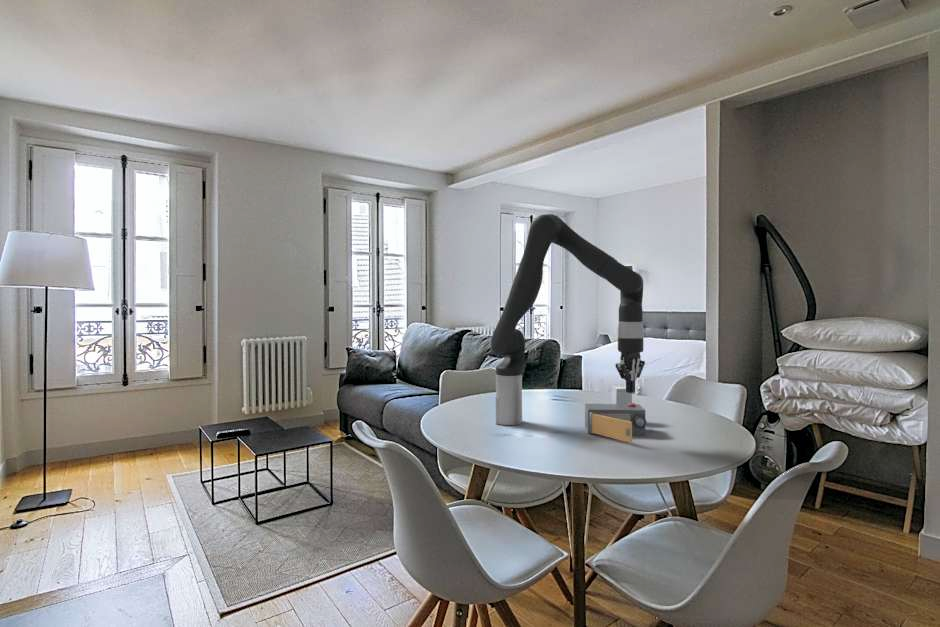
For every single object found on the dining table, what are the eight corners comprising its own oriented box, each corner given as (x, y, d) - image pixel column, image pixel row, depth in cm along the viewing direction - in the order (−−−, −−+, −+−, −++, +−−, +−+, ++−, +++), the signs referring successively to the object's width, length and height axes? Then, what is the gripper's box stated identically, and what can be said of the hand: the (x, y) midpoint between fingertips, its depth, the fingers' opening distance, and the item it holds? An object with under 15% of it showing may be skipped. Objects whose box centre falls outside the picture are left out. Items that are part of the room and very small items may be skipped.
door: (588, 433, 164) (588, 412, 164) (591, 432, 165) (591, 411, 165) (629, 444, 153) (629, 421, 152) (632, 443, 154) (632, 420, 153)
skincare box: (616, 423, 180) (616, 388, 179) (610, 420, 184) (611, 386, 184) (632, 422, 180) (632, 388, 180) (627, 419, 185) (627, 386, 184)
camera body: (588, 435, 164) (589, 408, 164) (584, 426, 175) (584, 401, 174) (646, 436, 162) (646, 409, 162) (638, 427, 173) (639, 402, 173)
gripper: (629, 338, 149) (629, 397, 150) (653, 335, 158) (653, 391, 158) (607, 336, 155) (607, 393, 155) (631, 334, 163) (631, 388, 164)
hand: (630, 392), depth 157 cm, fingers closed
